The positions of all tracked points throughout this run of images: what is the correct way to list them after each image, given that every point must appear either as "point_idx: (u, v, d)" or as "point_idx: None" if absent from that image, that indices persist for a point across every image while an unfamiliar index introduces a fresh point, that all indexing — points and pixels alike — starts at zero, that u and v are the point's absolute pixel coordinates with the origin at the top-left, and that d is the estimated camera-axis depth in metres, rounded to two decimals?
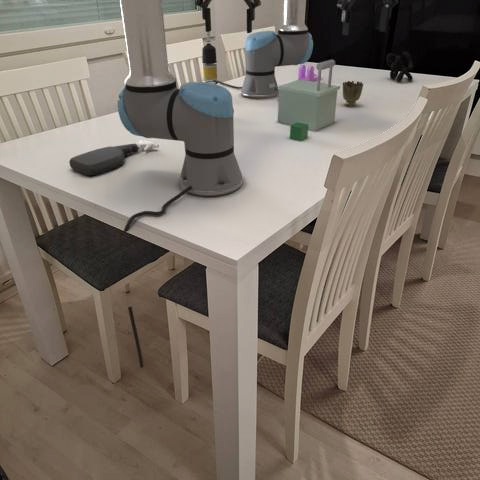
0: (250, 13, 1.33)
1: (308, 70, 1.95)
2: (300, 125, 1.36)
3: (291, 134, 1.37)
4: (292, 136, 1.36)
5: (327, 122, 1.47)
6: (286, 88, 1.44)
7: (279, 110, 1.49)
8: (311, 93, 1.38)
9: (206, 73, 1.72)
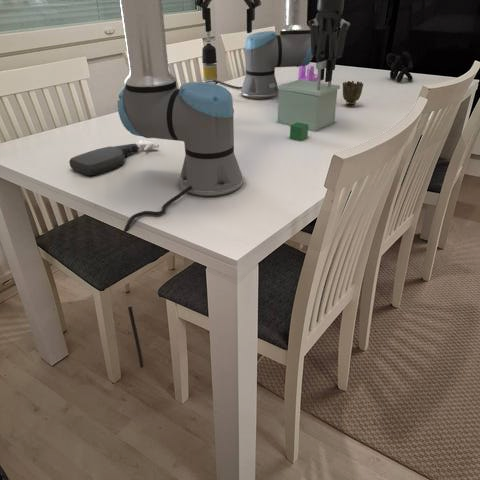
0: (250, 13, 1.33)
1: (308, 70, 1.95)
2: (300, 125, 1.36)
3: (291, 134, 1.37)
4: (292, 136, 1.36)
5: (327, 122, 1.47)
6: (286, 88, 1.44)
7: (279, 110, 1.49)
8: (311, 92, 1.38)
9: (206, 73, 1.72)
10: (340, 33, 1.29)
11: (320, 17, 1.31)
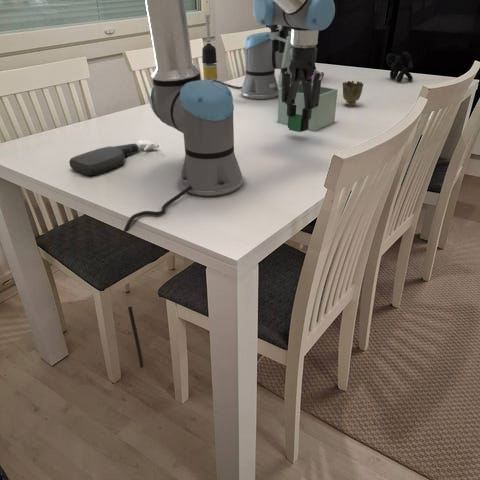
0: (306, 113, 1.31)
1: None
2: (299, 116, 1.34)
3: (290, 125, 1.35)
4: (291, 127, 1.35)
5: (327, 122, 1.47)
6: (280, 77, 1.44)
7: (279, 110, 1.49)
8: (285, 46, 1.37)
9: (206, 73, 1.72)
10: None
11: None
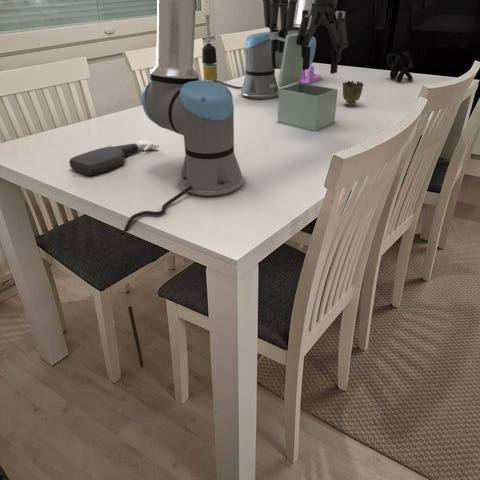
0: (335, 54, 1.33)
1: (308, 70, 1.95)
2: None
3: None
4: None
5: (327, 122, 1.47)
6: (280, 77, 1.43)
7: (279, 110, 1.49)
8: (285, 45, 1.37)
9: (206, 73, 1.72)
10: (289, 5, 1.36)
11: None
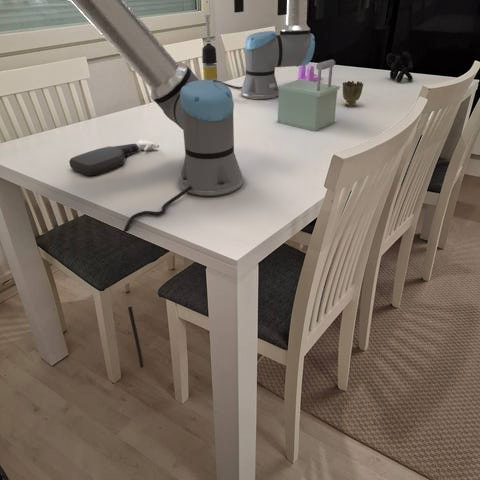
0: None
1: (308, 70, 1.95)
2: None
3: None
4: None
5: (327, 122, 1.47)
6: (286, 88, 1.44)
7: (279, 110, 1.49)
8: (311, 93, 1.38)
9: (206, 73, 1.72)
10: None
11: None
